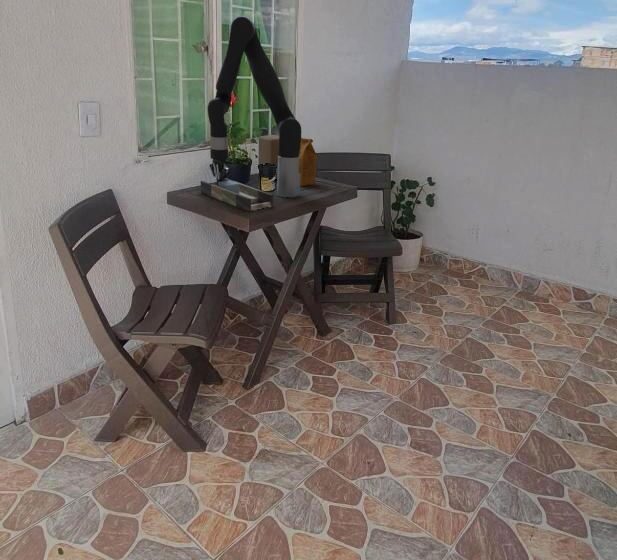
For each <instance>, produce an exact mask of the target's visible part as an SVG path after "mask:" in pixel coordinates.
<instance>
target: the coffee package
mask: <svg viewBox="0 0 617 560" xmlns="http://www.w3.org/2000/svg"><path fill="white" fill-rule="evenodd" d="M313 142H314V140H313V139H312V138H305V137H304V138H303V137H302V136H301V148H300V154H299V173H300V187H305V186H311V185H312V186H313V185H315V183H316V174H317V173H316V172H317V171H316V167H317V153H316V151H315V148H314V146H313V144H312V143H313Z"/></svg>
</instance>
